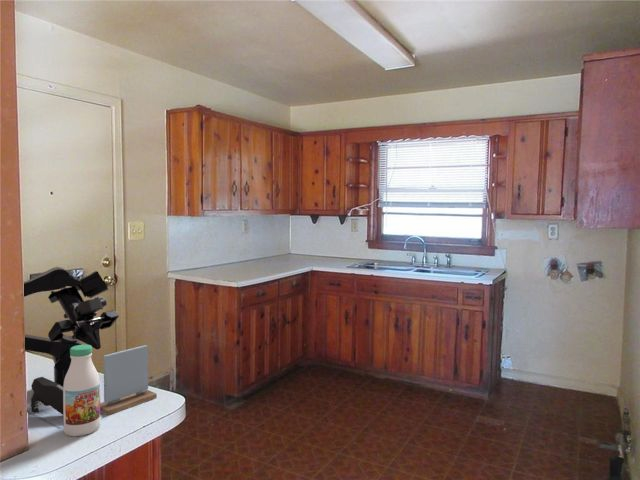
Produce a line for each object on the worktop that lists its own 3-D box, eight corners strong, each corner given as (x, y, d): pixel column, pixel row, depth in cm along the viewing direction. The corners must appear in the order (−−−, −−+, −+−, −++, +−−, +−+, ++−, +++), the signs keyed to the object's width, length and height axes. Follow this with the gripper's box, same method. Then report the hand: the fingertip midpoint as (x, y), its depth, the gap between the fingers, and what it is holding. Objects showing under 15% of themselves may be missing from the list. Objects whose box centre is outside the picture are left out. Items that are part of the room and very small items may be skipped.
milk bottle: (56, 433, 105) (54, 349, 103) (83, 419, 112) (82, 340, 111) (81, 440, 102) (79, 353, 101) (107, 425, 109) (106, 344, 108)
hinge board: (96, 409, 118) (95, 404, 118) (144, 392, 129) (144, 388, 129) (108, 415, 114) (108, 410, 114) (156, 397, 126) (156, 393, 126)
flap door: (104, 404, 117) (103, 355, 117) (145, 390, 127) (145, 345, 126) (107, 406, 116) (106, 356, 116) (149, 391, 126) (148, 346, 125)
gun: (69, 441, 112) (84, 408, 111) (19, 406, 115) (34, 374, 113) (77, 435, 115) (92, 403, 114) (28, 402, 118) (43, 370, 116)
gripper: (53, 292, 120) (80, 339, 116) (114, 283, 137) (139, 324, 132) (37, 318, 125) (62, 364, 120) (98, 306, 141) (122, 346, 137)
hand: (98, 348), depth 127 cm, fingers closed
